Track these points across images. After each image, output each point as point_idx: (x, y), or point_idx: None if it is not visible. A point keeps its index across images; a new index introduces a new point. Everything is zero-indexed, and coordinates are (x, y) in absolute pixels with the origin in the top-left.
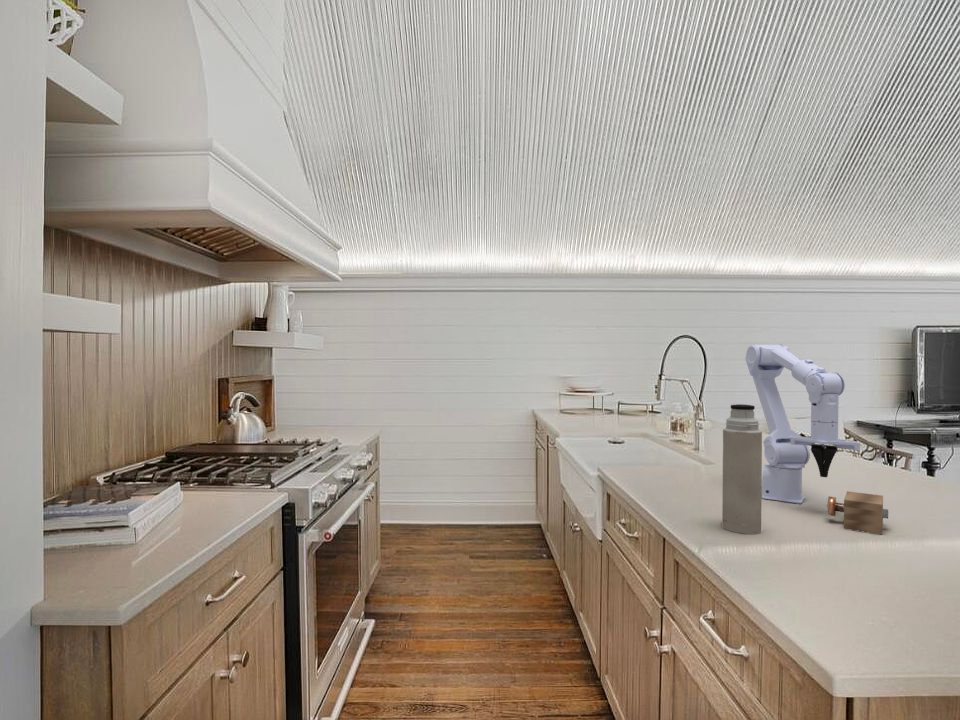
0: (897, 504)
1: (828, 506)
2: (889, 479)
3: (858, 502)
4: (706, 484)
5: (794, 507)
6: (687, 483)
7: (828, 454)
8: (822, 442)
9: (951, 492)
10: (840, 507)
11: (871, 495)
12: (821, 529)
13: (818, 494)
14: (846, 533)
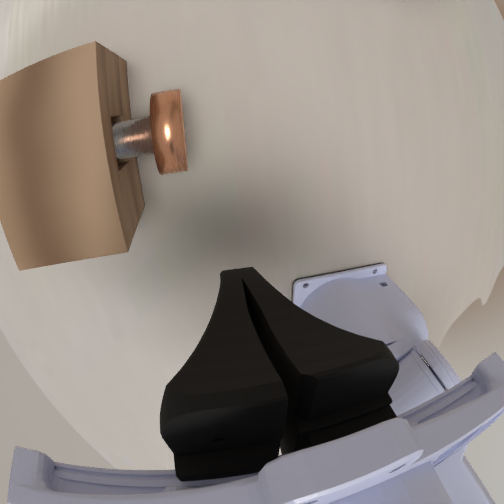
0: (124, 408)
1: (176, 89)
2: None
3: (43, 60)
4: (460, 296)
5: (306, 232)
6: (483, 276)
7: (224, 368)
8: (350, 460)
9: None
10: (134, 119)
11: (38, 241)
12: (187, 4)
13: None
14: (114, 18)
